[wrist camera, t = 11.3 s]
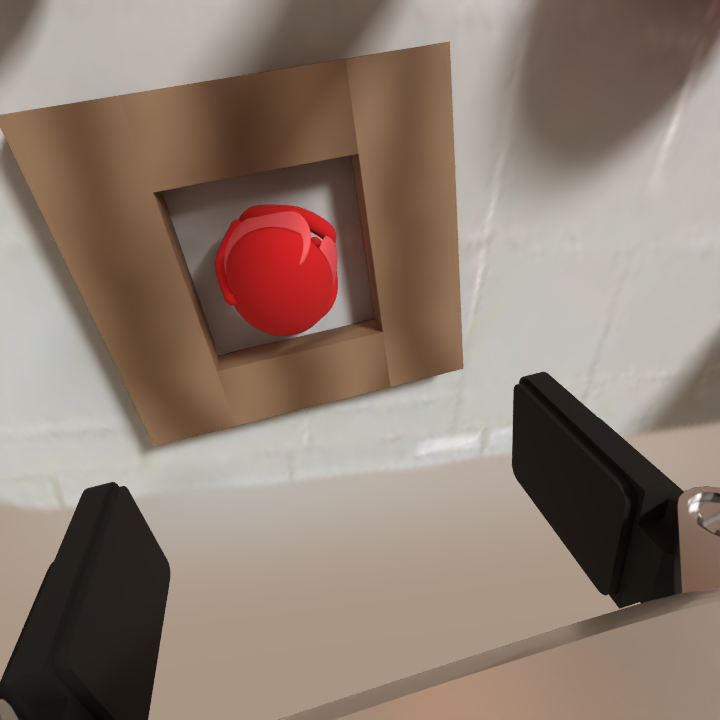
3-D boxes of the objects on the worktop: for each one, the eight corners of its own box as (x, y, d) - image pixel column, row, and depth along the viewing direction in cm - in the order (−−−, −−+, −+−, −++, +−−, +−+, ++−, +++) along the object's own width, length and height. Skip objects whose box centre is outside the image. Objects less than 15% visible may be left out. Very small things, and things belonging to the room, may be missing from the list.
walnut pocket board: (434, 46, 23) (449, 41, 22) (451, 354, 32) (463, 368, 31) (14, 115, 21) (-6, 115, 19) (159, 427, 30) (154, 446, 28)
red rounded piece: (210, 173, 21) (180, 301, 20) (341, 195, 21) (314, 326, 20) (253, 240, 29) (233, 334, 28) (348, 257, 29) (329, 352, 28)
